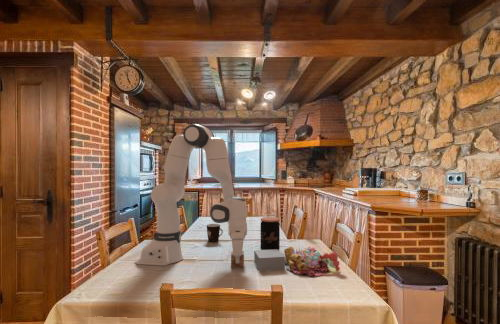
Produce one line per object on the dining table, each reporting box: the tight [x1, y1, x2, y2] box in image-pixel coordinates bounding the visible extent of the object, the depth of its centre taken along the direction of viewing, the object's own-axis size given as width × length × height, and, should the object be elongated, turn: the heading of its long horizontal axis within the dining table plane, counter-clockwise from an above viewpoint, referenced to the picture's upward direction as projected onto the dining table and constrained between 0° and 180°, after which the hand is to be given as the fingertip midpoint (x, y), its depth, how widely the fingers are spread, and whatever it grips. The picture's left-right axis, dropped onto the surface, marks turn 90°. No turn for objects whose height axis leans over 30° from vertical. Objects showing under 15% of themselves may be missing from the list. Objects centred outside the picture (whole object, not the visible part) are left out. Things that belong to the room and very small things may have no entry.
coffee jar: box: [260, 216, 281, 251], centre depth 157 cm, size 11×11×18 cm
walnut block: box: [230, 250, 245, 269], centre depth 134 cm, size 6×6×6 cm
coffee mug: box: [206, 223, 224, 243], centre depth 176 cm, size 12×9×10 cm
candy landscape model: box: [283, 246, 341, 277], centre depth 132 cm, size 25×24×9 cm
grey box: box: [253, 249, 286, 272], centre depth 134 cm, size 12×12×6 cm
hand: (237, 260), depth 134 cm, fingers closed on walnut block, 6 cm apart
